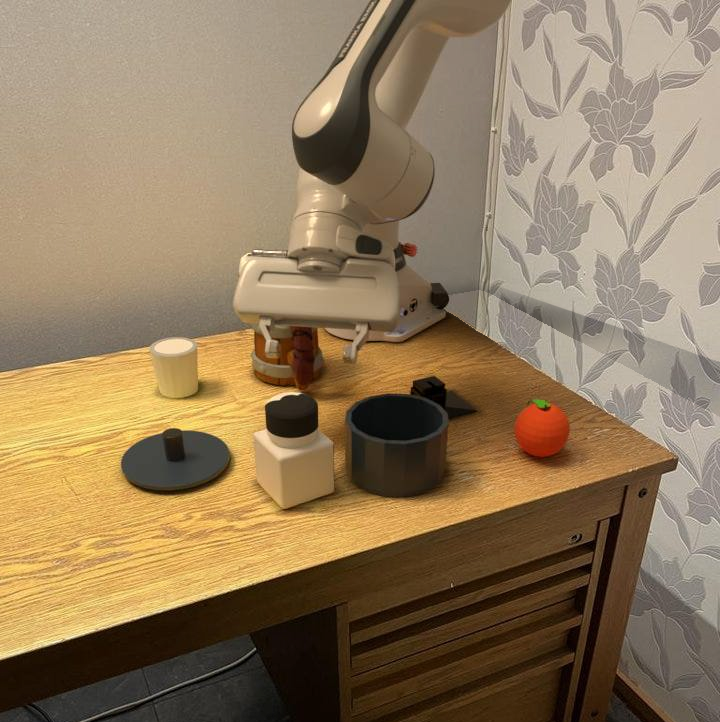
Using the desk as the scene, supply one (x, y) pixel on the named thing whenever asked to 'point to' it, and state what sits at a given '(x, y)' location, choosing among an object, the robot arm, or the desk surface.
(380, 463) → the enamel pot
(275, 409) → the medicine bottle
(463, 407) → the black wedge
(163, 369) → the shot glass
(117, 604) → the desk surface
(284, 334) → the mug
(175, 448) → the pot lid
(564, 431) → the clementine
